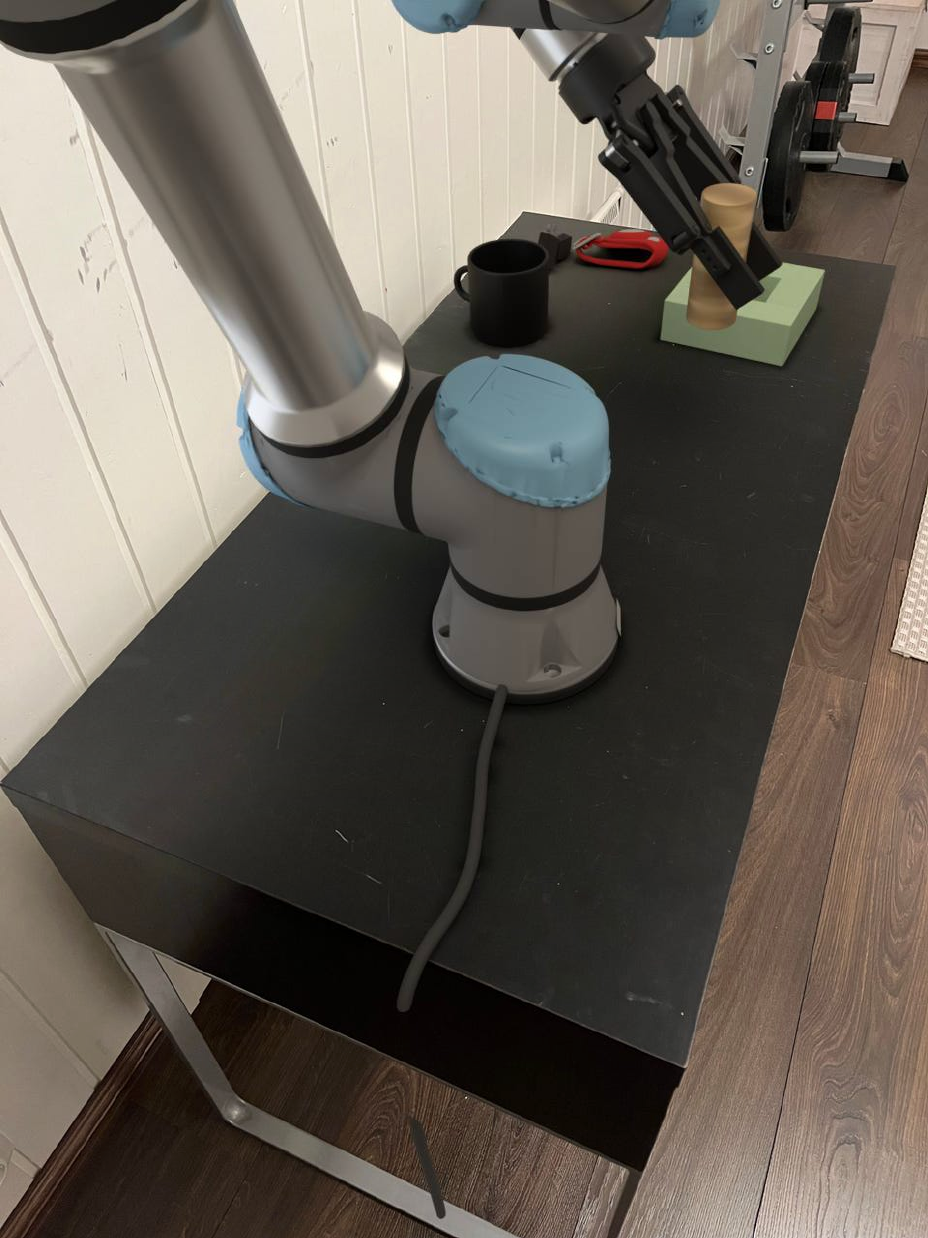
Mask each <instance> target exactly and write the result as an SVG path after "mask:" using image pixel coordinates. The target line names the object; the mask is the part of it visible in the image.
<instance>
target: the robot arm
mask: <svg viewBox="0 0 928 1238" xmlns="http://www.w3.org/2000/svg"><path fill="white" fill-rule="evenodd" d="M390 1H391V3H392V5H393V7H394V8H395V10H396V11H397V13H398V14H399V16H400V17H401V18H402V19H403V20H404V21H405V22H406V23H407V24H409V25H410V26H411V27H412V28H414V29H416V30H418V31H420V32H423V33H427V34H432V35H441V34H446V33H451V34H454V33H455V34H457V33H458V32H460V31H461V30H464V29H467V28H468V26H480V27H481V26H483V27H497V28H510V29H511V31H512V32H513V34H514V35H515V36H516V38H517V39H518V40H519V42H520V43H521V44H522V46H523V48H524V49H525V50H526V51H527V53H528V54H529V55H530V57H531V59H532V60H533V61H534V62H535V64H536V65H537V67H538V68H539V70H540V71H541V73H543V75H544V76H545V78H546V80H547V81H548V82H550V83H554V82H556V81H558V83H559V85H558V87H557V89H558V90H559V91H558V95H559V97H560V98H561V99H562V101H563V103H565V105H566V106H567V107H568V109H569V110H570V112H571V113H572V114H573V116H574V117H575V118H576V119H577V121H578V122H579V123H580V124H581V125H589V124H591V123H592V122H593V121H594V120H595V119H597V121H598V122H599V125H600V126H601V128H602V131H603V134H604V136H605V137H606V139H607V140H608V142H607V145H606V147H605V148H604V149H603V150H602V151H601V152H600V153H599V154H598V155H597V159H598V162H599V163H600V165H601V166H602V167H603V168H604V169H605V170H607V171H608V172H609V173H610V174H611V175H612V176H613V177H615V178H616V180H618V182H619V183H620V185H621V186H622V187H623V189H624V190H625V191H626V193H627V194H628V195H629V196H630V198H631V199H632V201H633V202H634V204H635V205H636V206H637V207H638V209H639V210H640V211H641V212H642V214H643V215H644V217H645V218H646V219H647V220H648V223H650V225H651V226H652V227H653V229H654V230H655V231H656V233H657V234H658V235H659V237H661V238H662V239H663V240H664V242H665V243H666V244H667V246H668V247H669V250H670V251H671V252H673V253H674V254H675V253H676V254H677V255H678V256H682V255H684V254H685V253H686V252H688V251H690V250H691V251H692V252H693V254H694V253H695V255H696V256H697V258H698V259H699V260H700V262H701V263H702V264H703V266H704V267H705V269H706V270H707V271H708V273H709V274H710V275H711V277H712V278H713V279H714V281H715V282H716V284H717V285H718V286H719V288H720V289H721V290H722V292H723V293H724V295H725V296H726V297H727V299H728V300H729V301H730V303H731V304H732V305H733V307H734V308H735V310H738V309H739V308H741V307H743V306H744V305H746V304H747V303H749V302H750V301H752V300H753V299H755V298H757V297H758V296H760V295H761V294H763V292H764V291H765V289H764V287H763V286H762V285H761V283H760V282H759V281H760V280H762V279H763V278H765V277H766V276H768V275H769V274H771V273H772V272H774V271H775V270H777V269H779V268H780V267H781V266H782V264H783V263H784V262H783V261H782V260H781V259H780V258H779V256H778V254H777V253H776V252H775V250H774V249H773V247H772V246H771V245H770V243H769V242H768V240H767V239H766V237H765V236H764V234H763V233H762V232H761V231H760V229H759V227H758V226H757V225H756V223H755V222H754V221H753V222H752V228H751V234H750V240H749V246H748V252H747V258H746V262H745V261H744V260H743V258H742V257H741V255H740V254H739V253H738V251H737V250H736V248H735V247H734V246H733V244H732V243H731V241H730V240H729V239H728V237H727V236H726V234H725V233H724V232H723V230H722V229H721V228H720V226H718V227H717V228H716V229H714V230H713V229H712V226H711V224H710V222H709V220H708V219H707V217H706V215H705V213H704V212H703V210H702V208H701V206H700V202H701V194H702V191H703V190H704V189H705V188H707V187H709V186H712V185H715V184H723V183H733V184H740V185H744V186H745V184H742V179H741V177H740V175H739V174H738V173H737V171H736V170H735V168H734V166H733V165H732V164H731V162H730V161H729V160H728V158H727V157H726V155H725V154H724V152H723V150H721V148H720V147H719V145H718V143H717V142H716V141H715V139H714V138H713V136H712V135H711V133H710V132H709V130H708V129H707V128H706V126H705V125H704V123H703V122H702V121H701V118H700V117H699V116H698V115H697V113H696V112H695V110H694V108H693V107H692V105H691V102H690V99H689V98H688V96H687V94H686V92H685V90H684V88H683V87H682V86H681V85H680V84H675V85H674V86H673V87H672V88H671V89H670V90H669V91H664V90H663V88H662V87H661V86H660V85H659V84H658V83H657V82H655V80H653V79H652V77H651V76H650V75H648V69H649V68H650V67H651V66H652V65H653V64H654V63H655V60H656V57H657V53H656V50H655V49H654V48H653V46H652V44H651V42H649V40H648V38H653V39H654V40H664V39H666V38H672V39H673V38H677V39H678V38H679V39H681V38H682V39H683V38H687V39H692V38H697V37H700V36H702V35H704V34H705V33H706V32H707V31H708V30H709V28H710V27H711V25H713V22H714V20H715V19H716V16H717V14H718V11H719V7H720V4H721V1H722V0H390ZM0 45H1V46H2V47H4V48H5V49H6V50H7V51H9V52H11V53H13V54H15V55H16V56H17V55H18V56H20V57H24V58H26V59H29V60H35V61H39V62H42V63H43V62H44V63H47V64H52V65H53V66H54V68H55V69H56V71H57V72H58V74H59V76H60V77H61V79H62V80H63V82H64V83H65V85H66V86H67V88H68V90H69V91H70V93H71V95H72V96H73V98H74V100H75V101H76V102H77V104H78V106H79V108H80V109H81V110H82V112H83V113H84V116H85V117H86V119H87V120H88V122H89V123H90V125H91V127H92V128H93V130H94V132H95V133H96V134H97V136H98V138H100V141H101V142H102V144H103V146H104V147H105V149H106V150H107V152H108V153H109V155H110V157H111V158H112V160H113V162H114V163H115V164H116V166H117V167H118V170H119V171H120V172H121V174H122V176H123V177H124V179H125V180H126V182H127V184H128V185H129V187H130V188H131V190H132V191H133V193H134V195H135V196H136V198H137V200H138V201H139V203H140V204H141V206H142V207H143V209H144V211H145V212H146V214H147V216H148V217H149V218H150V220H151V222H152V224H153V226H154V227H155V228H156V230H157V231H158V233H159V235H160V236H161V238H162V239H163V241H164V243H165V244H166V246H167V247H168V249H169V250H170V252H171V254H172V255H173V257H174V258H175V260H176V261H177V263H178V264H179V266H180V268H181V269H182V271H183V273H184V274H185V276H186V277H187V279H188V280H189V283H190V284H191V285H192V287H193V288H194V290H195V291H196V293H197V295H198V296H199V298H200V299H201V301H202V303H203V304H204V306H205V308H206V309H207V310H208V312H209V313H210V315H211V317H212V319H213V320H214V322H215V323H216V325H217V327H218V328H219V330H220V332H221V333H222V335H223V336H224V338H225V339H226V341H227V342H228V344H229V346H230V347H231V349H232V350H233V352H234V353H235V355H236V357H237V358H238V360H239V361H240V363H241V365H242V366H243V369H245V373H244V378H243V382H242V386H241V389H240V393H239V396H238V400H237V406H236V426H237V427H238V428H241V429H242V433H241V435H240V436H239V437H238V445H239V450H240V452H241V456H242V458H243V461H244V463H245V465H246V467H247V469H248V470H249V472H250V474H251V475H252V476H253V478H254V479H255V480H256V481H257V482H258V483H259V484H260V486H262V487H263V488H264V489H266V490H267V491H268V492H270V493H272V494H274V495H276V496H279V497H280V498H283V499H286V500H288V501H289V502H291V503H294V504H296V505H298V506H300V507H304V508H307V509H313V510H323V511H326V512H330V513H331V512H332V513H336V514H339V515H340V514H341V515H344V516H347V517H352V518H356V519H359V520H362V521H367V522H370V523H371V522H372V523H375V524H379V525H383V526H387V527H391V528H395V529H397V530H398V529H399V530H403V531H407V532H409V533H414V534H418V535H421V536H425V537H428V538H432V539H436V540H440V541H444V542H446V543H447V545H448V546H447V547H448V554H449V568H448V571H447V574H446V577H445V580H444V582H443V585H442V587H441V591H440V594H439V596H438V599H437V602H436V604H435V607H434V610H433V615H432V632H433V642H434V648H435V652H436V656H437V658H438V660H439V662H440V664H441V666H442V667H443V669H444V671H446V673H447V674H448V675H449V676H450V677H451V678H452V679H453V680H454V681H455V682H456V683H458V684H459V685H460V686H462V687H463V688H465V689H466V690H468V691H469V692H471V693H473V694H476V695H477V696H480V697H483V698H485V699H488V700H491V701H492V703H491V706H490V710H489V714H488V717H487V719H486V723H485V728H484V731H483V734H482V738H481V741H480V745H479V749H478V755H477V761H476V767H475V768H476V769H475V778H474V779H475V780H474V797H473V806H472V813H471V814H472V815H471V821H470V828H469V829H470V830H469V838H468V845H467V851H466V857H465V861H464V865H463V868H462V871H461V874H460V878H459V880H458V882H457V885H456V887H455V889H454V891H453V893H452V895H451V896H450V898H449V900H448V902H447V904H446V905H445V906H444V908H443V910H441V911H442V912H440V914H439V915H438V917H437V918H436V920H435V922H433V924H432V926H431V927H430V928H429V930H428V931H427V933H426V934H425V935H424V937H423V938H422V940H421V942H420V943H419V945H418V947H417V948H416V950H415V951H414V954H413V956H412V958H411V960H410V962H409V963H408V967H407V969H406V970H405V973H404V977H403V979H402V982H401V984H400V988H399V992H398V996H397V1000H396V1008H397V1010H398V1011H399V1012H400V1013H401V1012H402V1013H405V1012H407V1011H409V1010H410V1008H411V1006H412V1004H413V999H414V996H415V992H416V990H417V986H418V984H419V981H420V978H421V976H422V973H423V971H424V969H425V967H426V964H428V961H429V959H430V957H431V955H432V954H433V952H434V951H435V949H436V947H437V946H438V944H439V943H440V941H441V940H442V938H443V937H444V936H445V934H446V932H447V931H448V929H450V926H451V925H452V924H453V922H454V920H455V919H456V918H457V916H458V914H459V913H460V911H461V909H462V908H463V905H464V904H465V902H466V900H467V899H468V896H469V894H470V892H471V889H472V886H473V884H474V881H475V878H476V875H477V872H478V869H479V863H480V859H481V853H482V846H483V837H484V827H485V819H486V812H487V801H488V800H487V799H488V784H489V783H488V781H489V769H490V762H491V756H492V751H493V747H494V743H495V740H496V736H497V732H498V729H499V726H500V722H501V718H502V715H503V711H504V707H505V704H510V705H525V706H526V705H529V706H530V705H541V704H549V703H552V702H557V701H560V700H564V699H567V698H570V697H572V696H575V695H576V694H578V693H580V692H582V691H584V690H586V689H587V688H589V687H590V686H591V685H593V684H594V683H595V682H597V681H598V680H599V679H600V678H601V677H603V675H604V674H605V672H606V671H607V670H608V668H609V667H610V665H611V664H612V662H613V660H614V658H615V656H616V652H617V648H618V643H619V642H618V641H619V636H620V637H621V636H622V632H621V631H622V627H621V623H622V622H621V621H622V620H621V619H622V618H621V605H620V603H619V601H618V599H616V602H615V599H614V598H613V595H612V592H611V589H610V586H609V583H608V580H607V578H606V574H605V572H604V570H603V567H602V555H603V554H602V552H603V544H604V543H603V540H604V532H605V531H604V530H605V529H604V528H605V517H606V507H607V505H606V504H607V493H608V483H609V480H610V475H611V472H612V471H611V465H612V459H611V457H610V456H611V451H610V447H609V446H610V445H609V444H610V443H609V442H610V425H609V424H610V423H609V418H608V417H609V416H608V413H607V410H606V407H605V405H604V403H603V401H602V400H601V398H599V397H598V396H597V395H596V392H595V389H593V387H592V386H590V384H589V383H588V382H586V381H585V380H584V379H583V378H582V377H581V376H579V375H578V374H576V373H575V372H573V371H571V370H570V369H568V368H566V367H564V366H562V365H560V364H558V363H555V362H552V361H550V360H547V359H544V358H541V357H536V356H531V355H525V354H516V353H515V354H514V353H501V354H500V355H499V356H498V359H496V358H492V357H490V356H488V355H484V356H479V357H475V358H472V359H470V360H467V361H464V362H463V363H460V364H459V365H457V366H456V367H454V368H453V369H452V370H451V371H449V373H447V375H444V374H439V373H435V372H434V373H433V372H428V371H424V370H419V369H415V368H413V367H412V366H411V365H410V363H409V361H408V358H407V355H406V353H405V350H404V348H403V345H402V343H401V341H400V338H399V337H398V335H397V333H396V331H394V329H393V327H391V326H390V325H389V324H388V323H387V322H386V321H385V320H383V318H380V317H379V316H377V315H376V314H374V313H371V312H370V311H367V310H364V309H363V307H362V304H361V302H360V299H359V297H358V295H357V292H356V290H355V288H354V285H353V282H352V280H351V278H350V275H349V274H348V271H347V269H346V267H345V264H344V262H343V259H342V257H341V255H340V252H339V249H338V248H337V244H336V242H335V240H334V238H333V235H332V233H331V231H330V228H329V226H328V223H327V221H326V219H325V216H324V214H323V212H322V209H321V206H320V204H319V202H318V199H317V198H316V195H315V193H314V190H313V187H312V185H311V183H310V181H309V178H308V176H307V174H306V171H305V169H304V168H305V167H304V165H303V164H302V161H301V159H300V156H299V154H298V152H297V150H296V147H295V145H294V142H293V140H292V138H291V135H290V133H289V130H288V128H287V125H286V123H285V120H284V118H283V116H282V114H281V111H280V109H279V106H278V103H277V102H276V100H275V97H274V94H273V92H272V90H271V88H270V86H269V84H268V83H269V82H268V80H267V78H266V75H265V74H264V71H263V69H262V66H261V64H260V61H259V59H258V57H257V53H256V52H255V49H254V47H253V45H252V42H251V40H250V37H249V35H248V33H247V31H246V27H245V26H244V23H243V21H242V18H241V15H240V13H239V11H238V9H237V6H236V4H235V2H234V0H0ZM782 262H783V263H782ZM406 1115H407V1119H408V1125H409V1128H410V1129H409V1130H410V1134H411V1137H412V1141H413V1144H414V1147H415V1151H416V1154H417V1157H418V1161H419V1163H420V1166H421V1169H422V1173H423V1176H424V1178H425V1181H426V1184H427V1187H428V1191H429V1194H430V1197H431V1201H432V1204H433V1207H434V1213H435V1215H436V1217H437V1218H438V1219H439V1220H442V1219H444V1218H445V1217H446V1215H447V1210H446V1207H445V1202H444V1197H443V1193H442V1190H441V1186H440V1183H439V1179H438V1176H437V1173H436V1169H435V1166H434V1163H433V1159H432V1156H431V1153H430V1149H429V1146H428V1142H427V1137H426V1134H425V1130H424V1125H423V1123H422V1122H420V1121H418V1120H417V1119H415V1118H414V1117H412V1116H411V1115H409V1114H406Z"/></svg>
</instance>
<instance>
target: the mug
mask: <svg viewBox="0 0 928 1238" xmlns="http://www.w3.org/2000/svg"><path fill="white" fill-rule="evenodd" d="M466 262H467V264H465V265H462V266H460V267H458V268H457V269H456V271H455V273H454V274H453V286H454V289H455V291H456V293H457V294H458V296H459V297H460V298H461V299H463V301H465V302H468V303H469V324H470V325H469V326H470V330H471V333H472V334H473V337H475V338H476V339H478V340H479V341H481V342H483V343H485V344H488V345H491V346H495V347H518V346H524V345H528V344H530V343H533V342H535V341H537V340H539V339H540V338H542V337H543V335H545V333H546V331H547V329H548V328H549V298H550V297H549V293H550V292H549V291H550V288H549V287H550V269H549V254H548V251H547V250H546V248H544V247H543V246H542V245H540V244H538V242H535V241H532V240H530V239H529V240H528V239H523V238H500V239H493V240H489V241H486V242H483V243H481V244H478V245H477V246H475V247H474V248H471V250H470V251H469V253H468V255H467V257H466ZM464 274H467V282H468V283H467V285H468V292H467V291H466V290H465V289H464V287H463V284H462V277H463V275H464Z"/></svg>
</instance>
